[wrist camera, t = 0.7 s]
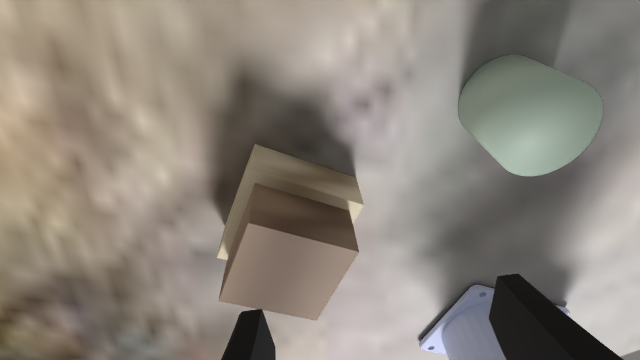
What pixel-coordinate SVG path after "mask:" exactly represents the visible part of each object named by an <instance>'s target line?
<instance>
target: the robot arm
mask: <svg viewBox="0 0 640 360" xmlns="http://www.w3.org/2000/svg"><path fill="white" fill-rule="evenodd" d="M569 315H570V312H569V310H568V309H567V308H565V307H561V306H557V305H554V304H553V303H552V302H551V301H550V300H548V299H547V298H546V297H545V296H544V295H543V294H541V293H540V292H539V291H538V290H537V289H536V288H534V287H533V286H532V285H531V284H530V283H529V282H527V281H526V280H525V279H524V278H523V277H521V276H520V275H519V274H511V275H504V276H498V277H497V281H496V286H495V289H493V288H489V287H485V286H482V285H473V286H471V287H470V288H469V289H468V290H467V291H466V293H465V294H464V295H463V296H462V297H461V298H460V299H459V300H458V301H457V302H456V303H455V304H454V306H453V307H452V308H451V309H450V310H449V311H448V312H447V313H446V314H445V315H444V316H443V317H442V319H441V320H440V321H439V322H438V323H437V324H436V325H435V326H434V327H433V328H432V329H431V330H430V332H429V333H428V334H427V335H426V336H425V337H424V338H423V339H422V340H421V341H420V343H419V346H420V348H421V349H422V350H425V351H430V352H436V353H441V354H446V355H447V356H448V358H449V360H623V359H622V358H621V357H619V356H618V355H617V354H615V353H614V352H613V351H611V350H610V349H609V348H607V347H606V346H605V345H604V344H602V343H601V342H600V341H598V340H597V339H596V338H595V337H593V336H592V335H591V334H590V333H588V332H587V331H586V330H585V329H583V328H582V327H581V326H580V325H578V324H577V323H576V322H575V321H574V320H572V319H571V318H570V317H569ZM221 360H275V345H274V342H273V339H272V337H271V334H270V331H269V328H268V325H267V322H266V319H265V316H264V314H263V311H262V309H257V310H250V311H243V312H241V313H240V315H239V317H238V320H237V323H236V325H235V328H234V330H233V333H232V335H231V338H230V340H229V343H228V345H227V347H226V350H225V352H224V354H223V357H222V359H221Z"/></svg>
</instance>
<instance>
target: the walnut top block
mask: <svg viewBox="0 0 640 360" xmlns="http://www.w3.org/2000/svg"><path fill="white" fill-rule="evenodd" d="M358 253H359V250H358V246H357V241H356V237H355V232H354V228H353V224H352V219H351V215H350V211H349V210H346V209H342V208H339V207H335V206H332V205H328V204H325V203H322V202H318V201H315V200H311V199H308V198H305V197H301V196H298V195H294V194H291V193H287V192H284V191H281V190H277V189H274V188H270V187H267V186H264V185H260V184H257V183H255V184H254V187H253V189H252V192H251V195H250V198H249V200H248V203H247V206H246V208H245V211H244V214H243V217H242V219H241V222H240V225H239V227H238V230H237V233H236V236H235V238H234V241H233V244H232V246H231V249H230V252H229V255H228V259H227V263H226V268H225V273H224V277H223V282H222V287H221V291H220V296H219V301H221V302H226V303H231V304H236V305H241V306H246V307H251V308H256V309H262V310H266V311H271V312H276V313H281V314H286V315H291V316H296V317H301V318H306V319H311V320H317V319H318V317H319V316H320V314H321V312H322V311H323V309H324V308H325V306H326V304H327V303H328V301H329V299H330V298H331V296H332V295H333V293H334V291H335V290H336V288H337V287H338V285H339V283H340V282H341V280H342V279H343V277H344V275H345V274H346V272H347V270H348V269H349V267H350V266H351V264H352V262H353V261H354V259H355V258H356V256H357V254H358Z"/></svg>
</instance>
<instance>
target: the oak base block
mask: <svg viewBox="0 0 640 360" xmlns="http://www.w3.org/2000/svg"><path fill="white" fill-rule="evenodd" d="M255 183H257V184H260V185H264V186H267V187H270V188H274V189H277V190H281V191H284V192H287V193H291V194H294V195H298V196H301V197H305V198H308V199H311V200H315V201H318V202H322V203H325V204H328V205H332V206H335V207H339V208H342V209H346V210H349V211H350V215H351V219H352V224H353V223H354V221H355V219H356V218H357V216H358V214H359V213H360V211H361V209H362V208H363V206H364V204H363V200H362V197H361V193H360V190H359V186H358V183H357V179H356V178H355V177H352V176H349V175H346V174H343V173H340V172H337V171H334V170H331V169H328V168H325V167H322V166H319V165H316V164H313V163H310V162H307V161H304V160H301V159H298V158H295V157H292V156H289V155H286V154H283V153H280V152H277V151H274V150H271V149H268V148H265V147H262V146H259V145H256V144H254V147H253V150H252V152H251V155H250V158H249V161H248V163H247V166H246V169H245V172H244V175H243V177H242V180H241V183H240V186H239V188H238V191H237V194H236V197H235V200H234V202H233V205H232V208H231V211H230V213H229V216H228V219H227V222H226V225H225V228H224V232H223V236H222V240H221V244H220V248H219V252H218V256H217V258H220V259H225V260H227V259H228V255H229V252H230V249H231V246H232V244H233V241H234V238H235V236H236V233H237V230H238V227H239V225H240V222H241V219H242V217H243V214H244V211H245V208H246V206H247V203H248V200H249V198H250V195H251V192H252V189H253V187H254V184H255Z"/></svg>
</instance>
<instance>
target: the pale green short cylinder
mask: <svg viewBox="0 0 640 360" xmlns="http://www.w3.org/2000/svg"><path fill="white" fill-rule="evenodd" d="M458 115H459V119H460V121H461V123H462V125H463V126H464V128H465V129H466V130H467V131H468V132H469V133H470V134H471V135H472V136H473V137H474V138H475V139H476V140H477V141H478V142H479V143H480V144H481V145H482V146H483V147H484V148H485V149H486V150H487V151H488V152H489V153H490V154H491V155H492V156H493V157H494V158H495V159H496V160H497V161H498V162H499V163H500V164H501V165H502V166H503V167H504V168H505V169H506V170H507V171H509V172H511V173H513V174H516V175H520V176H538V175H543V174H547V173H550V172H552V171H555V170H557V169H559V168H561V167H563V166H565V165H566V164H568V163H570V162H571V161H572V160H574V159H575V158H576V157H577V156H579V155H580V154H581V153H582V152H583V151H584V150H585V149H586V148H587V146H588V145H589V144H590V143H591V141H592V140H593V138H594V137H595V135H596V133H597V131H598V129H599V127H600V124H601V121H602V116H603V104H602V100H601V97H600V95H599V94H598V92H597V91H596V90H595V89H594V88H593V87H592V86H591V85H589V84H587V83H585V82H583V81H581V80H578V79H576V78H574V77H572V76H569V75H567V74H565V73H562V72H560V71H558V70H556V69H553V68H551V67H549V66H547V65H544V64H542V63H540V62H538V61H535V60H533V59H531V58H528V57H526V56H522V55H506V56H501V57H498V58H495V59H493V60H491V61H489V62H488V63H486V64H484V65H483V66H482V67H480V68H479V69H478V70H477V71H476V72H475V73H474V74H473V75H472V76H471V77H470V78H469V80H468V81H467V82H466V84H465V86H464V88H463V89H462V92H461V94H460V98H459V102H458Z"/></svg>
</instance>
